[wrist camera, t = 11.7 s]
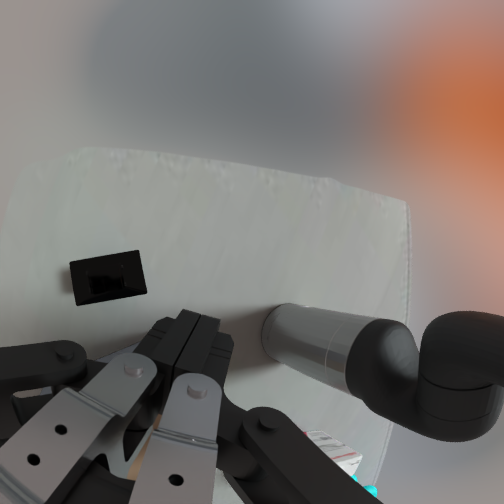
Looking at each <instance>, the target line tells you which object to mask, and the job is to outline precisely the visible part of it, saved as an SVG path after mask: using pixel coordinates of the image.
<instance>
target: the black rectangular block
mask: <svg viewBox="0 0 504 504" xmlns="http://www.w3.org/2000/svg"><path fill="white" fill-rule="evenodd" d="M69 264H70V271H71V278H72V284H73V291H74V296H75V302H76V305H77V306H80V305H86V304H92V303H98V302H104V301H109V300H115V299H121V298H126V297H132V296H137V295H143V294H147V288H146V284H145V279H144V274H143V269H142V264H141V258H140V253H139V250H134V251H128V252H122V253H117V254H111V255H105V256H99V257H94V258H88V259H83V260H77V261H72V262H70V263H69Z"/></svg>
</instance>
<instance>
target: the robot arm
mask: <svg viewBox="0 0 504 504" xmlns="http://www.w3.org/2000/svg"><path fill="white" fill-rule="evenodd" d="M219 326H220V319H217V318H213V317H210V316H206V315H202V316H201V314H199V313H196V312H192V311H189V310H185V309H183V310H182V311H181V312H180V314H179V315H178V317H177V318H176V319H173V318H169V317H165V318H163V319H161V320H158V321H157V322H156V323H155V324H154V326H153V327H152V329H150V331H149V332H148V333H147V335H146V336H145V337H144V338H143V339H142V341H141V342H140V343H139V344H138V346H137V347H136V348H135V349H134V351H133V352H132V353H123V354H120V355H118V356H116V357H115V358H114V359H112V360H111V361H110V362H109V363H104V362H98V361H93V360H88V359H87V356H86V351H85V350H84V348H83V347H82V346H81V345H79V344H77V343H75V342H72V341H67V340H59V341H52V342H44V343H37V344H28V345H20V346H11V347H1V348H0V504H212V498H213V489H214V479H215V470H216V468H218V469H220V470H222V471H223V473H224V476H225V478H226V480H227V481H228V482H229V484H230V485H231V487H232V488H233V489H234V491H235V492H236V493H237V495H238V496H239V497H240V498H241V500H242V501H243V502H244V504H383V503H382V502H381V501H379V500H378V499H377V498H376V497H374V496H373V495H372V494H371V493H370V492H368V491H367V490H366V489H365V488H364V487H362V486H361V485H360V484H359V483H358V482H356V481H355V480H354V479H353V478H352V477H351V476H350V475H348V474H347V473H346V472H345V471H344V470H343V469H342V468H341V467H339V466H338V465H337V464H336V463H335V462H334V461H333V460H332V459H331V458H330V457H328V456H327V455H326V454H325V453H324V452H323V451H322V450H321V449H320V448H319V447H318V446H317V445H316V444H315V443H314V442H313V441H312V440H311V439H310V438H309V437H308V436H306V435H305V434H304V433H303V432H302V431H301V430H300V429H299V428H298V427H297V426H296V425H295V424H294V423H293V422H292V421H291V420H290V418H289V417H287V416H286V415H285V414H284V413H282V412H281V411H279V410H276V409H274V408H270V407H256V408H252V409H250V410H249V411H246V410H244V409H241V408H239V407H238V406H236V405H234V404H233V403H232V402H231V401H230V400H229V399H228V398H227V397H226V395H225V393H224V389H223V387H224V382H225V378H226V374H227V370H228V366H229V362H230V358H231V354H232V350H233V346H234V342H233V340H232V338H231V335H228V334H224V333H221V332H218V330H219ZM262 344H263V347H264V349H265V351H266V353H267V354H268V355H269V356H270V357H272V358H273V359H275V360H277V361H279V362H281V363H283V364H285V365H287V366H289V367H291V368H293V369H295V370H297V371H299V372H301V373H303V374H305V375H307V376H309V377H312V378H314V379H316V380H318V381H320V382H322V383H325V384H327V385H329V386H331V387H333V388H336V389H338V390H341V391H343V392H345V393H347V394H350V395H352V396H355V397H357V398H359V399H361V400H363V402H364V403H365V404H366V406H367V407H368V408H369V409H370V410H372V411H373V412H374V413H376V414H378V415H380V416H382V417H384V418H386V419H388V420H390V421H392V422H395V423H397V424H399V425H401V426H403V427H405V428H408V429H409V430H412V431H414V432H416V433H419V434H421V435H424V436H426V437H429V438H433V439H436V440H440V441H446V442H465V441H469V440H473V439H476V438H478V437H480V436H482V435H484V434H485V433H486V432H488V431H489V430H490V429H491V428H492V427H493V426H494V424H495V423H496V421H497V419H498V417H499V415H500V412H501V409H502V406H503V402H504V317H503V316H499V315H494V314H489V313H485V312H476V311H457V312H451V313H447V314H444V315H441V316H439V317H437V318H435V319H434V320H433V321H432V322H431V323H430V324H429V325H428V326H427V328H426V329H425V331H424V333H423V336H422V341H421V347H420V353H419V351H418V349H417V346H416V344H415V341H414V338H413V336H412V333H411V332H410V330H409V329H408V328H407V326H405V325H404V324H403V323H401V322H398V321H394V320H389V319H382V318H375V317H369V316H362V315H355V314H349V313H343V312H337V311H331V310H325V309H320V308H314V307H309V306H303V305H297V304H291V303H290V304H284V305H281V306H279V307H277V308H276V309H274V310H273V311H272V312H271V313H270V315H269V316H268V317H267V319H266V321H265V323H264V326H263V329H262ZM44 387H51V391H52V393H50V394H45V395H39V396H33V397H27V398H17V397H15V396H14V395H13V393H15V392H18V391H25V390H31V389H38V388H44ZM158 414H160V415H162V417H161V420H160V423H159V426H158V429H154V430H153V424H154V422H155V420H156V418H157V416H158ZM152 430H153V432H152ZM151 432H152V435H151V437H150V440H149V443H148V446H147V449H146V452H145V455H144V458H143V461H142V464H141V467H140V470H139V473H138V476H137V479H136V481H135V480H130V479H127V475H128V472H129V469H130V467H131V465H132V464H133V462H134V460H135V459H136V457H137V455H138V454H139V452H140V450H141V449H142V447H143V445H144V444H145V442H146V440H147V439H148V437H149V435H150V434H151Z"/></svg>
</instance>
